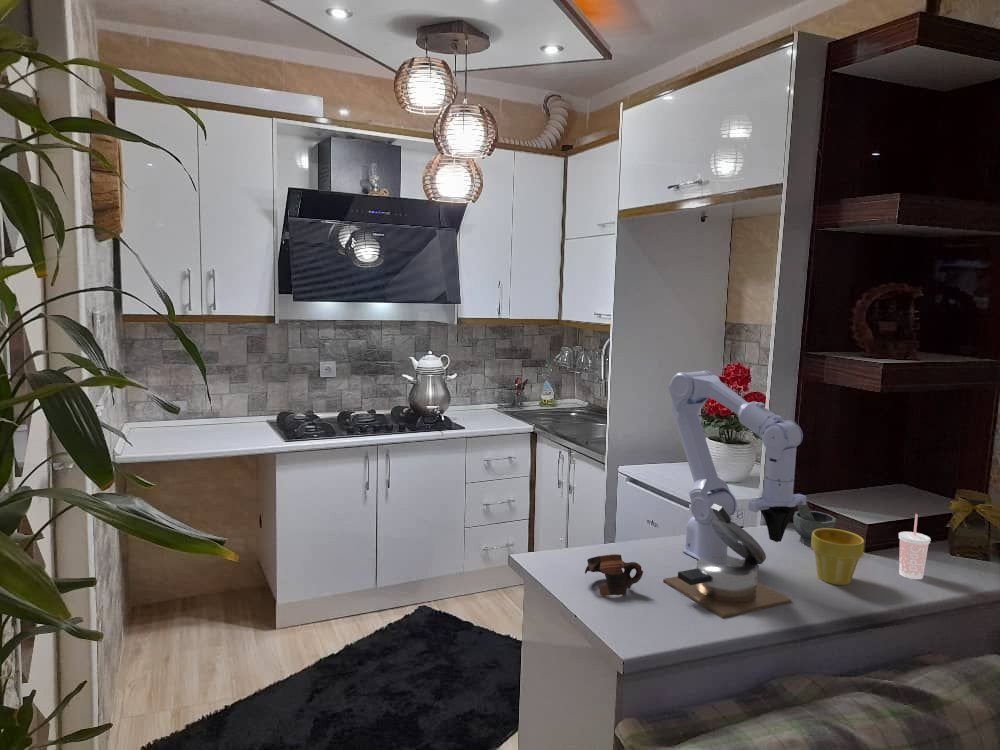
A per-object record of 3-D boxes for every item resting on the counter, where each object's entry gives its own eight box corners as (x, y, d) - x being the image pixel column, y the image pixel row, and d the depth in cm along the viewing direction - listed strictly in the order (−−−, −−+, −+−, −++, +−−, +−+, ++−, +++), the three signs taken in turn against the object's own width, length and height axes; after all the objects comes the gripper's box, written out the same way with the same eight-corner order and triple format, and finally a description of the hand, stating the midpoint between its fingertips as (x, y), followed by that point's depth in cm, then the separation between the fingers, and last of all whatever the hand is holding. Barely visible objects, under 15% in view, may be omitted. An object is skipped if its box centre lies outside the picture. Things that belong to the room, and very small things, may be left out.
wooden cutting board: (655, 583, 150) (656, 558, 149) (728, 569, 158) (729, 546, 157) (713, 619, 133) (715, 592, 133) (791, 602, 142) (793, 576, 141)
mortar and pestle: (811, 534, 182) (814, 489, 180) (842, 546, 173) (846, 499, 172) (779, 540, 177) (782, 494, 176) (809, 553, 169) (813, 504, 167)
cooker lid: (729, 552, 154) (733, 548, 154) (773, 574, 142) (777, 569, 143) (693, 500, 148) (697, 496, 148) (736, 519, 136) (740, 514, 137)
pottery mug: (585, 599, 143) (579, 557, 146) (593, 601, 151) (587, 562, 154) (644, 590, 140) (637, 548, 143) (649, 593, 148) (642, 554, 152)
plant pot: (867, 591, 148) (871, 546, 146) (814, 586, 150) (818, 542, 148) (853, 572, 158) (856, 530, 156) (803, 567, 160) (807, 526, 158)
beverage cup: (893, 575, 156) (898, 514, 154) (897, 567, 161) (902, 508, 159) (925, 583, 152) (931, 520, 151) (928, 574, 157) (934, 513, 155)
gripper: (768, 486, 142) (763, 551, 144) (819, 479, 148) (815, 541, 150) (742, 477, 148) (738, 539, 150) (793, 471, 154) (789, 531, 156)
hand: (775, 540), depth 150 cm, fingers closed
